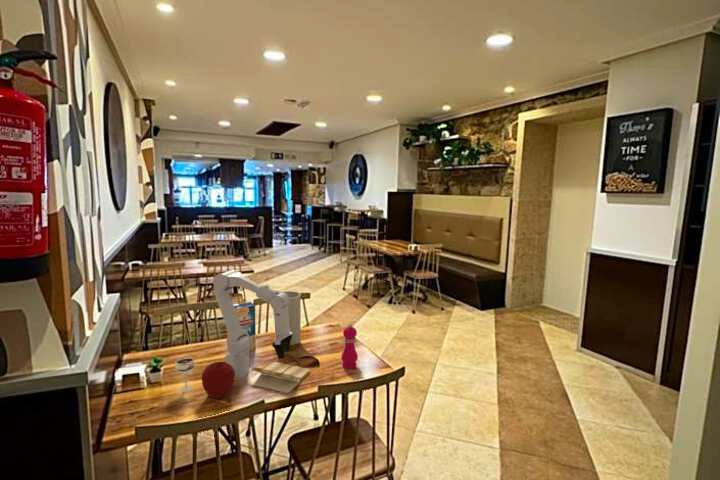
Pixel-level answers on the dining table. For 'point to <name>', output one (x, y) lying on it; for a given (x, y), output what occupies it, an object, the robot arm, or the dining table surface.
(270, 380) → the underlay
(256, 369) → the plank
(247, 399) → the dining table surface
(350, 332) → the pepper mill
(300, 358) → the brown shoe
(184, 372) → the wineglass
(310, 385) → the dining table surface
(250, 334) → the beverage box
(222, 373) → the apple
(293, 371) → the laid row
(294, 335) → the cylinder vase
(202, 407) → the dining table surface
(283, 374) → the plank
